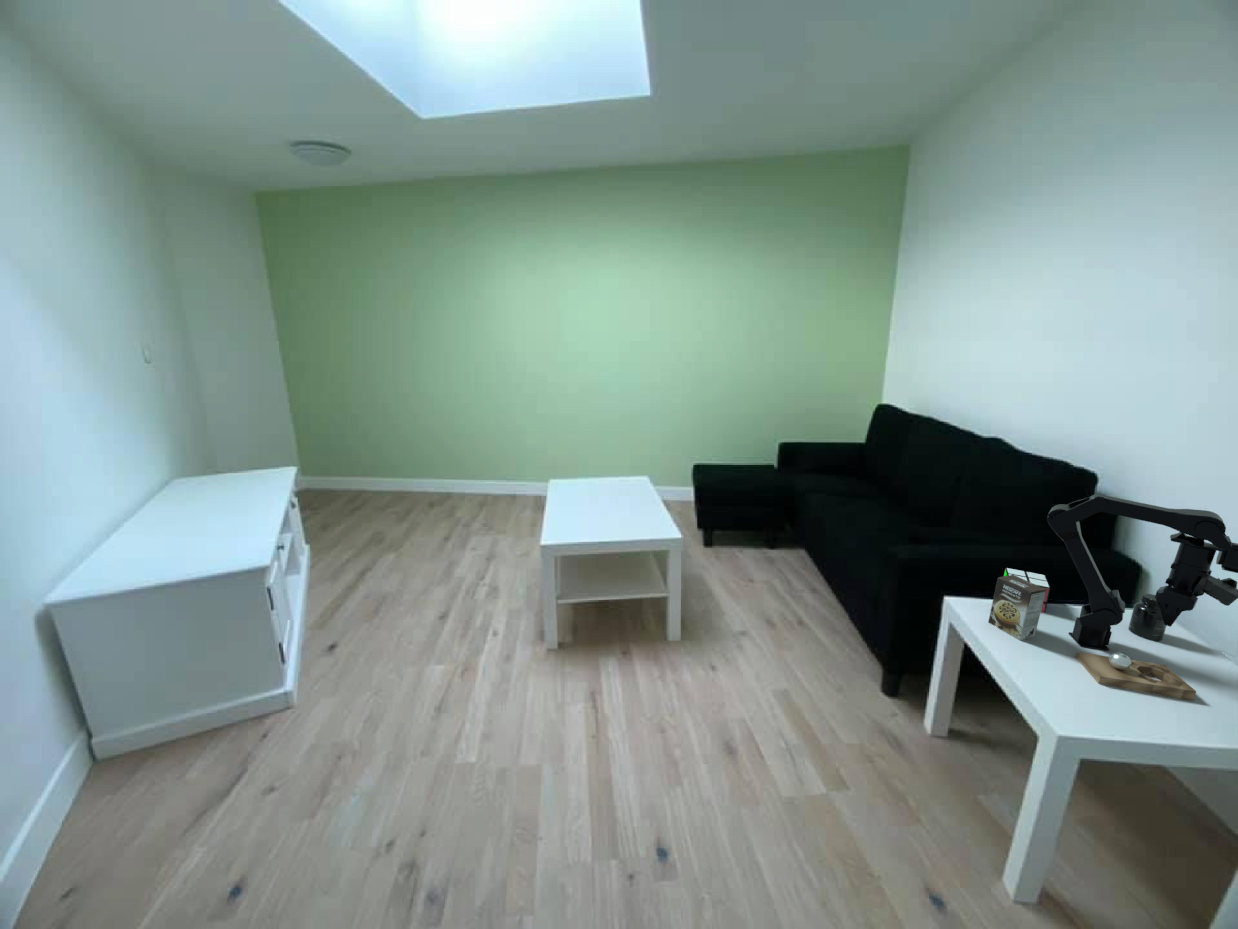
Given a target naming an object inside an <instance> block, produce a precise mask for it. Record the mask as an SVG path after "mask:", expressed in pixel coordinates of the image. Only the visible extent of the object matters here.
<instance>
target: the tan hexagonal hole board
mask: <svg viewBox="0 0 1238 929" xmlns="http://www.w3.org/2000/svg"><path fill="white" fill-rule="evenodd" d="M1075 659H1076V660H1077V661H1078V662H1079V663H1080V665H1081V666H1082V667H1083V668H1084V669H1085V670H1086V671H1087V672H1088V674H1089V675H1090V676H1091V677H1092V678H1093V679H1094V681H1096V683H1097V684H1098V685H1104V686H1108V687H1114V688H1119V689H1125V690H1129V691H1131V690H1132V691H1136V692H1140V693H1141V692H1142V693H1146V694H1147V693H1148V694H1152V695H1158V696H1162V697H1163V696H1164V697H1170V698H1176V699H1181V700H1187V701H1194V700H1195V697H1196V693H1197V690H1195V689H1194V688H1193V687H1192V686H1191V685H1190V684H1188V683H1187V682H1186V681H1185V680H1183V678H1181V677H1180V676H1179V675H1177V674H1176V673H1175V672H1174V671H1173V670H1171V669H1170V668H1169V667H1168V666H1167V665H1166V664H1162V663H1155V662H1154V663H1153V662H1150V661H1149V662H1147V661H1141V660H1133V659H1130V660H1131V662H1132V665H1131V667H1130V668H1129V669H1127V670H1119V669H1117V668H1115V667H1113V666H1112V665H1111V664H1110V662H1109V656H1106V655H1101V654H1099V655H1098V654H1091V653H1085V652H1081V651H1080V652H1079V651H1077V652H1076V654H1075ZM1147 675H1148V676H1147Z"/></svg>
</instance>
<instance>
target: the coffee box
mask: <svg viewBox="0 0 1238 929" xmlns="http://www.w3.org/2000/svg"><path fill="white" fill-rule="evenodd" d="M1045 594H1046V589H1045V588H1042V587H1040V586H1038V585H1035V584H1033V583H1031V582H1028V581H1026V580H1024V579H1021V578H1019V577H1017V576H1015V575H1010V576H1004V575H1003V576H999V577H997V579H996V585H995V588H994V594H993V597H992V601H991V602H992V604H991V608H990V612H989V616H988V617H989V618H988V624H990V625H992V626H994V627H995V626H996V628H997V629H999V630H1000V631H1002V632H1004V633H1006V634H1008V635H1010V637H1013V638H1014V639H1016V640H1018V641H1024V640H1027V639H1032V638H1034V637H1035V636H1036V632H1037V629H1038V625H1039V620H1040V616H1041V613H1042V612H1041V609H1042V605H1043V601H1044V597H1045Z"/></svg>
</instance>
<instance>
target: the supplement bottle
mask: <svg viewBox="0 0 1238 929" xmlns="http://www.w3.org/2000/svg"><path fill="white" fill-rule="evenodd" d="M1155 595H1156V594H1150V593H1143V594H1142V595H1141V598H1140V601H1139V602H1136V603H1135V604H1134V605H1133V609H1132V612H1131V617H1130V620H1129V625H1128V631H1130V632H1131V633H1132V634H1133V635H1135V636H1138V637H1139V638H1142V639H1145V640H1149V641H1153V642H1161V641H1163V639H1164V636H1165V632H1166V630H1167V627H1168V626H1167V625H1165V624H1164V621H1163V618H1162V615H1161V611H1160V608H1159V605H1158V602H1157V601H1156V598H1155Z"/></svg>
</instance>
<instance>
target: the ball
mask: <svg viewBox="0 0 1238 929" xmlns="http://www.w3.org/2000/svg"><path fill="white" fill-rule="evenodd" d="M1108 657H1109V662H1110V664H1111V665H1112V666H1113V667H1115V668H1117V669H1119V670H1127V669H1129V668H1130V667H1131V665H1132V662H1131V660H1132V659H1131V658H1130V657H1129V656H1128V655H1126V654H1125V653H1124V652H1123V653H1122V652H1113V653H1110V655H1109V656H1108Z"/></svg>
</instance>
